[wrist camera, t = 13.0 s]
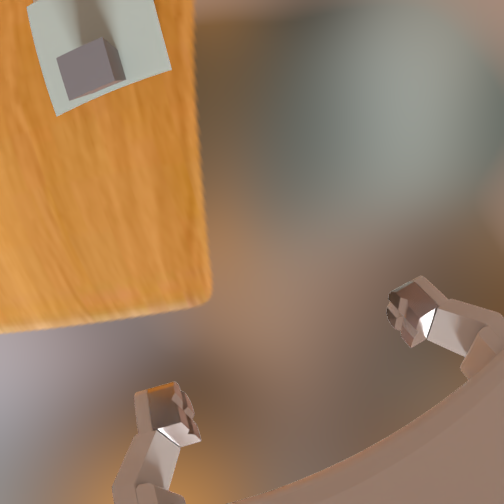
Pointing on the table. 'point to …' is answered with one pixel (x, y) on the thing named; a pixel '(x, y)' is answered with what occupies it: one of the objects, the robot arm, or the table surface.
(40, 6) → the carton lid
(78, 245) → the table surface
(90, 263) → the table surface
